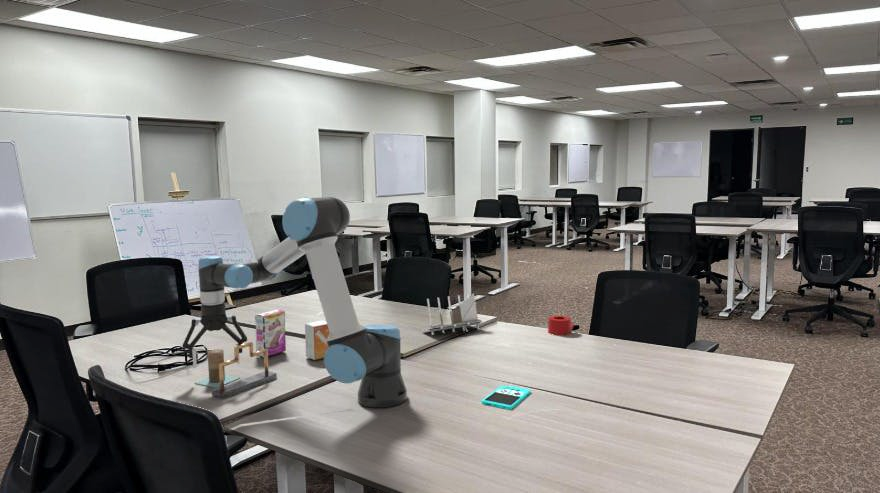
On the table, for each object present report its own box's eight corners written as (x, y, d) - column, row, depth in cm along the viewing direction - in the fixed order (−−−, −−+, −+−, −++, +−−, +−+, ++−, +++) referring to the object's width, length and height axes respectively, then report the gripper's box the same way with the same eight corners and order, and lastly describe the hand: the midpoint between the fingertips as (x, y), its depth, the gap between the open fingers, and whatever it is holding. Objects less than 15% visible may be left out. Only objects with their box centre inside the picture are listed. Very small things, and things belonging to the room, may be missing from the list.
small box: (314, 360, 220) (313, 326, 218) (305, 357, 224) (304, 323, 223) (332, 355, 225) (331, 322, 224) (323, 352, 230) (322, 319, 228)
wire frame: (276, 378, 201) (274, 337, 199) (222, 399, 182) (220, 354, 180) (266, 376, 203) (264, 335, 202) (212, 396, 185) (209, 351, 183)
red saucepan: (564, 337, 249) (565, 321, 248) (544, 333, 254) (544, 318, 254) (581, 328, 264) (581, 313, 263) (561, 325, 269) (561, 310, 268)
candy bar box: (265, 358, 223) (263, 316, 221) (256, 356, 225) (254, 314, 223) (287, 351, 232) (285, 310, 230) (277, 349, 235) (276, 308, 233)
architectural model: (490, 328, 255) (484, 286, 257) (439, 336, 243) (433, 292, 246) (470, 330, 270) (465, 291, 272) (422, 338, 258) (416, 296, 261)
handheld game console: (531, 393, 186) (531, 389, 186) (511, 411, 172) (511, 406, 172) (502, 388, 191) (502, 383, 191) (480, 404, 177) (480, 400, 177)
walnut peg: (225, 381, 197) (223, 352, 196) (208, 383, 195) (207, 354, 194) (225, 377, 202) (223, 348, 200) (209, 378, 200) (207, 350, 199)
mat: (239, 378, 201) (239, 377, 201) (216, 388, 192) (216, 387, 192) (218, 374, 205) (218, 373, 205) (194, 383, 196) (194, 382, 196)
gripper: (252, 297, 203) (255, 357, 205) (173, 303, 195) (177, 365, 197) (252, 301, 196) (256, 363, 198) (170, 308, 188) (175, 372, 190)
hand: (216, 364), depth 198 cm, fingers open, 13 cm apart
